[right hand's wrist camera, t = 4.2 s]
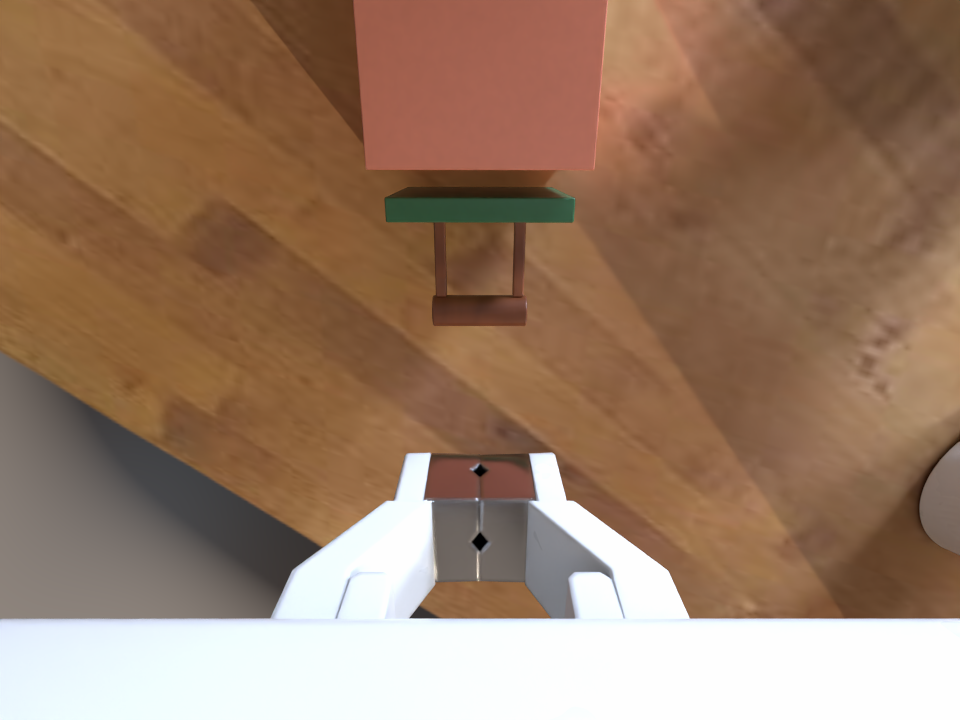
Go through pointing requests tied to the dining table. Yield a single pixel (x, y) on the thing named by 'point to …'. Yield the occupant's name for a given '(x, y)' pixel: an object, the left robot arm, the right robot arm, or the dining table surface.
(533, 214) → the drawer
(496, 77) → the cabinet
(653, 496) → the dining table surface
